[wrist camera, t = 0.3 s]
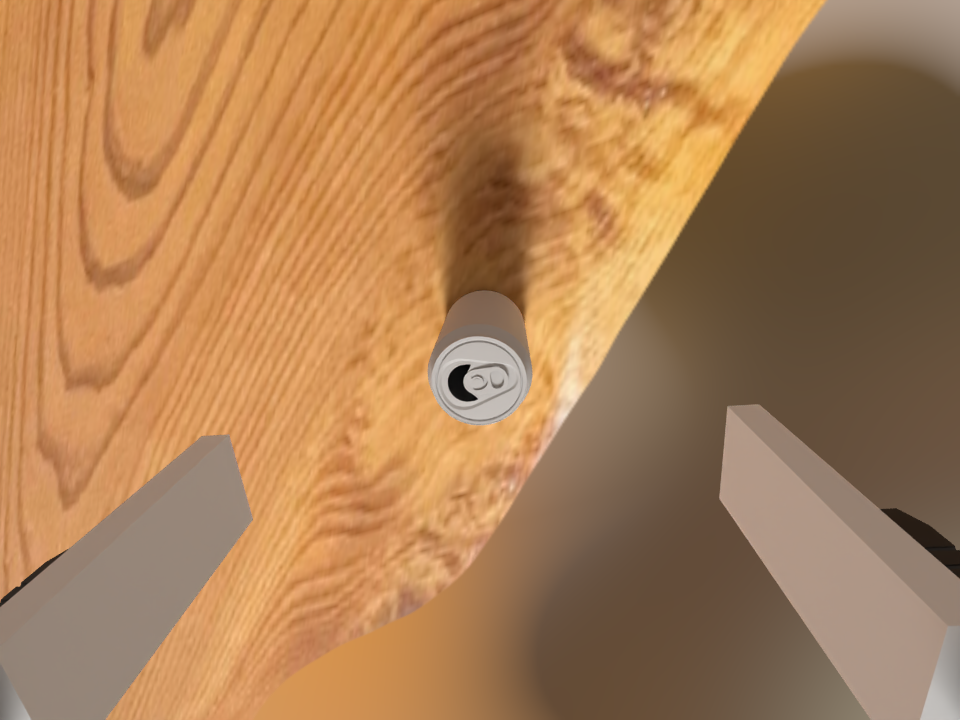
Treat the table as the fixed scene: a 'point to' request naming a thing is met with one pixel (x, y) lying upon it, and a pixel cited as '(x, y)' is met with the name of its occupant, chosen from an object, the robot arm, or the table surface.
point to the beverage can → (481, 359)
